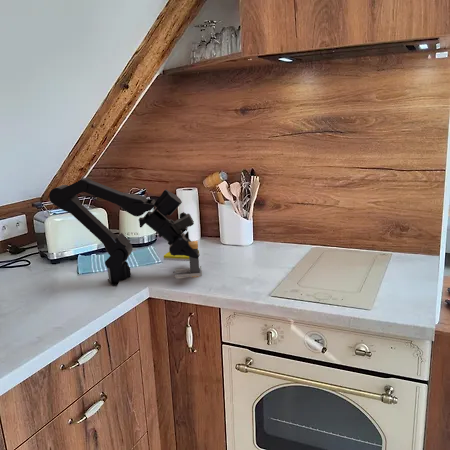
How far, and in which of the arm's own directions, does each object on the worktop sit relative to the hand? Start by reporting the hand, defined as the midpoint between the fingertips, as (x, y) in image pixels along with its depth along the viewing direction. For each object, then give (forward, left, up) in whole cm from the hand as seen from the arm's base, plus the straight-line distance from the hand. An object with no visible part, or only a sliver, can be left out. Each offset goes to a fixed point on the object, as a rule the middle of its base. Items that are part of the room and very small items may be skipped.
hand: (198, 255), depth 154 cm
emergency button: (+3, +21, -8) cm, 23 cm away
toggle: (-1, +1, -6) cm, 7 cm away
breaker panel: (-4, +2, -8) cm, 9 cm away
